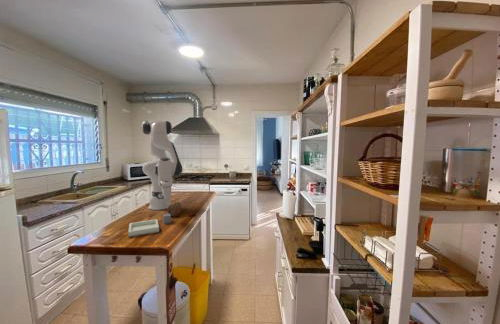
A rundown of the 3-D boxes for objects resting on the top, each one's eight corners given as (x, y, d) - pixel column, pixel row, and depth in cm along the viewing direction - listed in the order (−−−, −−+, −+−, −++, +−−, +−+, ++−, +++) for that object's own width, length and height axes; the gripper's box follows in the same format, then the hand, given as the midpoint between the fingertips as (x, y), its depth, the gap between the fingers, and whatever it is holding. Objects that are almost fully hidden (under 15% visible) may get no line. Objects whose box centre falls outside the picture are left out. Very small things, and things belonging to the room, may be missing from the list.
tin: (170, 217, 157) (170, 206, 157) (166, 217, 158) (166, 205, 157) (181, 211, 172) (181, 200, 171) (177, 211, 173) (177, 200, 172)
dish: (129, 227, 138) (129, 223, 138) (157, 223, 145) (157, 219, 145) (128, 237, 124) (128, 231, 123) (159, 232, 131) (159, 227, 130)
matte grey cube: (163, 221, 149) (162, 214, 148) (170, 220, 151) (169, 213, 150) (163, 223, 145) (163, 216, 144) (170, 222, 147) (170, 215, 146)
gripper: (159, 180, 153) (160, 200, 154) (161, 184, 135) (162, 206, 136) (168, 180, 156) (169, 199, 157) (172, 183, 138) (173, 205, 139)
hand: (166, 202), depth 146 cm, fingers open, 8 cm apart
